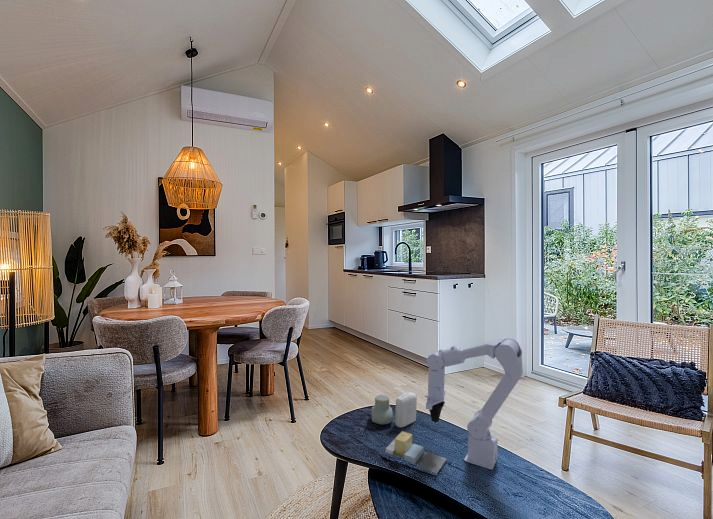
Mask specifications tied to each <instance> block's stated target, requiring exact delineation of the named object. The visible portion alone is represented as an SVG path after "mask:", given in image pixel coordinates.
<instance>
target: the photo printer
mask: <svg viewBox="0 0 713 519" xmlns="http://www.w3.org/2000/svg"><path fill="white" fill-rule="evenodd" d="M417 399H418V398H417V394H416V393H415V392H411V391H409V392H405V393H403V394H401V395H400V396H398V397H397V398H396V400H395V411H394V412H395V418H394V420H395V422H394V423H395V426H396V427H397V428H404V427H406V426H408V425H411V424H413V423H414V422H416V420H417V404H418V403H417V401H418V400H417Z"/></svg>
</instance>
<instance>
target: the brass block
mask: <svg viewBox="0 0 713 519" xmlns="http://www.w3.org/2000/svg"><path fill="white" fill-rule="evenodd" d="M394 439H395V453H394V455H396V456H399V457H402V458H404V454H405V453H406V452H407V450H408V449H409V448H410V447H411V446H412V445H413V434H412V433H410V432H406V431H403V430H402V431H400V433H399V434H397V436H396V437H394Z"/></svg>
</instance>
